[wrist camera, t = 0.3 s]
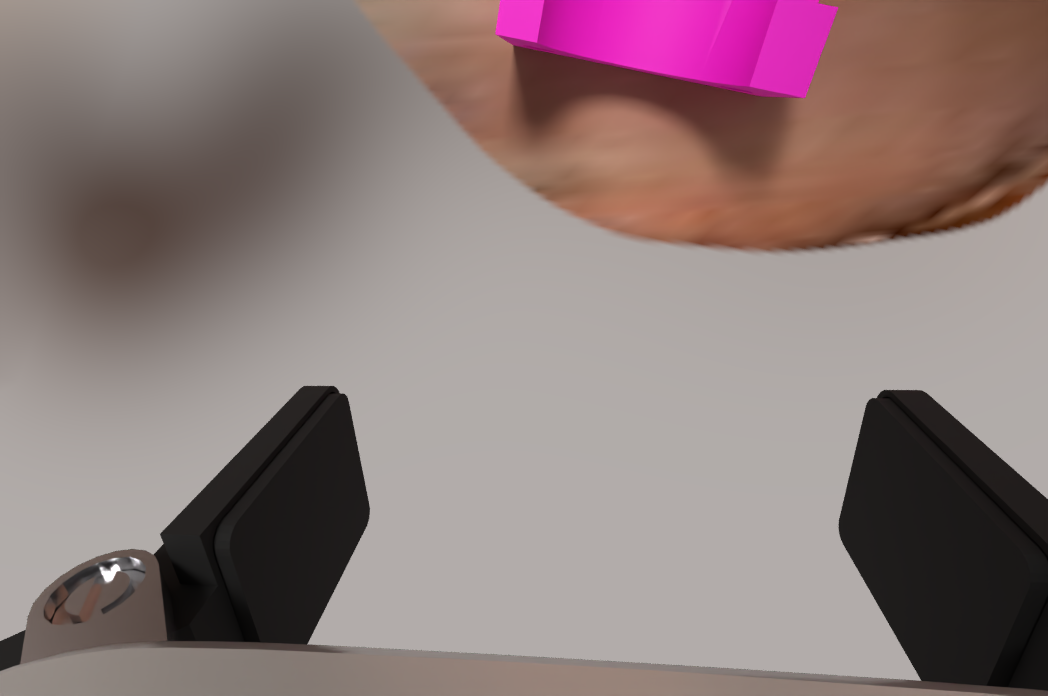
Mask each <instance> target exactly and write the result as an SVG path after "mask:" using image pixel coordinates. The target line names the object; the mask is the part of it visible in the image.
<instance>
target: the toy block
mask: <svg viewBox="0 0 1048 696" xmlns="http://www.w3.org/2000/svg"><path fill="white" fill-rule="evenodd" d="M818 2H819V0H500V6H499V13H498V20H497V27H496V35H497V36H499V37H501V38H502V39H504V40H506V41H507V42H509V43H510V44H512V45H514V46H519V47H524V48H529V49H534V50H539V51H544V52H548V53H553V54H558V55H563V56H568V57H573V58H577V59H582V60H587V61H592V62H597V63H602V64H606V65H611V66H616V67H621V68H626V69H631V70H636V71H640V72H645V73H650V74H655V75H660V76H665V77H669V78H674V79H679V80H684V81H689V82H694V83H699V84H703V85H708V86H713V87H718V88H723V89H728V90H732V91H737V92H742V93H747V94H752V95H757V96H762V97H789V98H805V96H806V94H807V91H808V88H809V85H810V83H811V80H812V77H813V75H814V72H815V69H816V67H817V64H818V61H819V58H820V56H821V53H822V50H823V48H824V45H825V42H826V39H827V37H828V34H829V31H830V29H831V26H832V23H833V21H834V18H835V15H836V12H837V10H838V7H834V6H829V5H824V4H819V3H818Z"/></svg>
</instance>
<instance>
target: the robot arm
mask: <svg viewBox="0 0 1048 696" xmlns="http://www.w3.org/2000/svg"><path fill="white" fill-rule="evenodd" d="M369 514H370V507H369V501H368V496H367V491H366V486H365V481H364V476H363V471H362V466H361V461H360V456H359V451H358V446H357V441H356V436H355V431H354V426H353V421H352V416H351V411H350V406H349V401H348V398H347V396H346V395H345V394H340V393H339V391H338V389H337V388H336V387H334V386H303V387H302V388H301V389H300V390H299V391H298V392H297V393H296V394H295V395H294V396H293V397H292V398H291V399H290V400H289V401H288V402H287V403H286V404H285V405H284V406H283V407H282V408H281V409H280V410H279V411H278V412H277V413H276V415H274V416H273V418H272V419H271V420H270V421H269V422H268V423H267V424H266V425H265V426H264V427H263V428H262V429H261V430H260V431H259V432H258V433H257V434H256V435H255V436H254V437H253V438H252V439H251V440H250V441H249V443H247V444H246V446H245V447H244V448H243V449H242V450H241V451H240V452H239V453H238V454H237V455H236V456H235V457H234V458H233V459H232V460H231V461H230V462H229V463H228V464H227V465H226V466H225V467H224V468H223V469H222V470H221V471H220V473H218V475H217V476H216V477H215V478H214V479H213V480H212V481H211V482H210V483H209V484H208V485H207V486H206V487H205V488H204V489H203V490H202V491H201V492H200V493H199V494H198V495H197V496H196V497H195V498H194V499H193V500H192V501H191V503H190V504H189V505H188V506H187V507H186V508H185V509H184V510H183V511H182V512H181V513H180V514H179V515H178V516H177V517H176V518H175V519H174V520H173V521H172V522H171V523H170V525H168V526H167V527H166V528H165V530H164V531H163V532H162V533H161V534H160V535H161V538H162V540H163V543H164V544H163V545H162V546H161V547H160V548H159V550H157V552H156V553H155V554H154V555H153V554H151V553H149V552H147V551H145V550H136V549H128V550H120V551H115V552H111V553H108V554H104V555H101V556H98V557H95V558H93V559H91V560H89V561H86V562H84V563H82V564H80V565H78V566H76V567H74V568H73V569H71V570H70V571H68V572H67V573H65V574H63V575H62V576H60V577H59V578H58V579H56V580H55V581H54V582H53V583H52V584H51V585H49V586H48V587H47V588H46V589H45V590H44V591H43V592H42V593H41V594H40V596H39V597H38V598H37V599H36V600H35V602H34V603H33V605H32V607H31V610H30V612H29V615H28V619H27V625H26V630H24V631H22V632H20V633H18V634H15V635H13V636H11V637H9V638H7V639H4V640H2V641H0V696H1048V499H1046V497H1044V496H1043V495H1042V494H1041V493H1040V492H1039V491H1037V490H1036V489H1035V488H1034V487H1033V486H1032V485H1031V484H1029V483H1028V482H1027V481H1026V480H1025V479H1024V478H1023V477H1022V476H1020V475H1019V474H1018V473H1017V472H1016V471H1015V470H1014V469H1012V468H1011V467H1010V466H1009V465H1008V464H1007V463H1006V462H1004V461H1003V460H1002V459H1001V458H1000V457H999V456H998V455H997V454H995V453H994V452H993V451H992V450H991V449H990V448H988V447H987V446H986V445H985V444H984V443H983V442H982V441H980V440H979V439H978V438H977V437H976V436H975V435H974V434H973V433H971V432H970V431H969V430H968V429H967V428H966V427H965V426H963V425H962V424H961V423H960V422H959V421H958V420H956V419H955V418H954V417H953V416H952V415H951V414H950V413H949V412H948V411H946V410H945V409H944V408H943V407H942V406H941V405H940V404H938V403H937V402H936V401H935V400H934V399H933V398H932V397H930V396H929V395H928V394H927V393H925V392H923V391H920V390H884V391H882V392H880V394H879V395H878V396H877V398H872V399H870V400H869V401H868V403H867V405H866V408H865V413H864V417H863V421H862V425H861V429H860V434H859V438H858V442H857V447H856V450H855V455H854V459H853V463H852V467H851V472H850V476H849V480H848V484H847V489H846V493H845V497H844V501H843V506H842V511H841V514H840V518H839V534H840V537H841V540H842V542H843V545H844V546H845V548H846V550H847V552H848V553H849V555H850V557H851V559H852V560H853V562H854V564H855V566H856V567H857V569H858V571H859V573H860V574H861V576H862V578H863V580H864V581H865V583H866V585H867V586H868V588H869V590H870V592H871V593H872V595H873V597H874V599H875V600H876V602H877V604H878V606H879V607H880V609H881V611H882V613H883V614H884V616H885V618H886V620H887V621H888V623H889V625H890V627H891V628H892V630H893V631H894V633H895V635H896V637H897V639H898V641H899V642H900V644H901V646H902V648H903V649H904V651H905V653H906V654H907V656H908V658H909V660H910V661H911V663H912V665H913V667H914V668H915V670H916V672H917V673H918V676H919V677H920V679H921V681H913V680H898V679H884V678H868V677H853V676H837V675H823V674H807V673H792V672H777V671H762V670H746V669H730V668H715V667H699V666H682V665H665V664H648V663H632V662H616V661H598V660H582V659H564V658H547V657H530V656H514V655H513V656H512V655H497V654H478V653H459V652H441V651H440V652H439V651H422V650H403V649H384V648H366V647H347V646H328V645H307V644H308V642H309V640H310V638H311V636H312V634H313V632H314V630H315V627H316V626H317V624H318V622H319V619H320V618H321V616H322V614H323V612H324V610H325V608H326V606H327V604H328V602H329V600H330V598H331V596H332V594H333V592H334V590H335V588H336V586H337V584H338V582H339V580H340V578H341V576H342V574H343V572H344V570H345V568H346V566H347V564H348V562H349V560H350V558H351V556H352V554H353V552H354V550H355V548H356V546H357V544H358V542H359V540H360V538H361V536H362V535H363V533H364V531H365V529H366V526H367V524H368V520H369Z"/></svg>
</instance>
